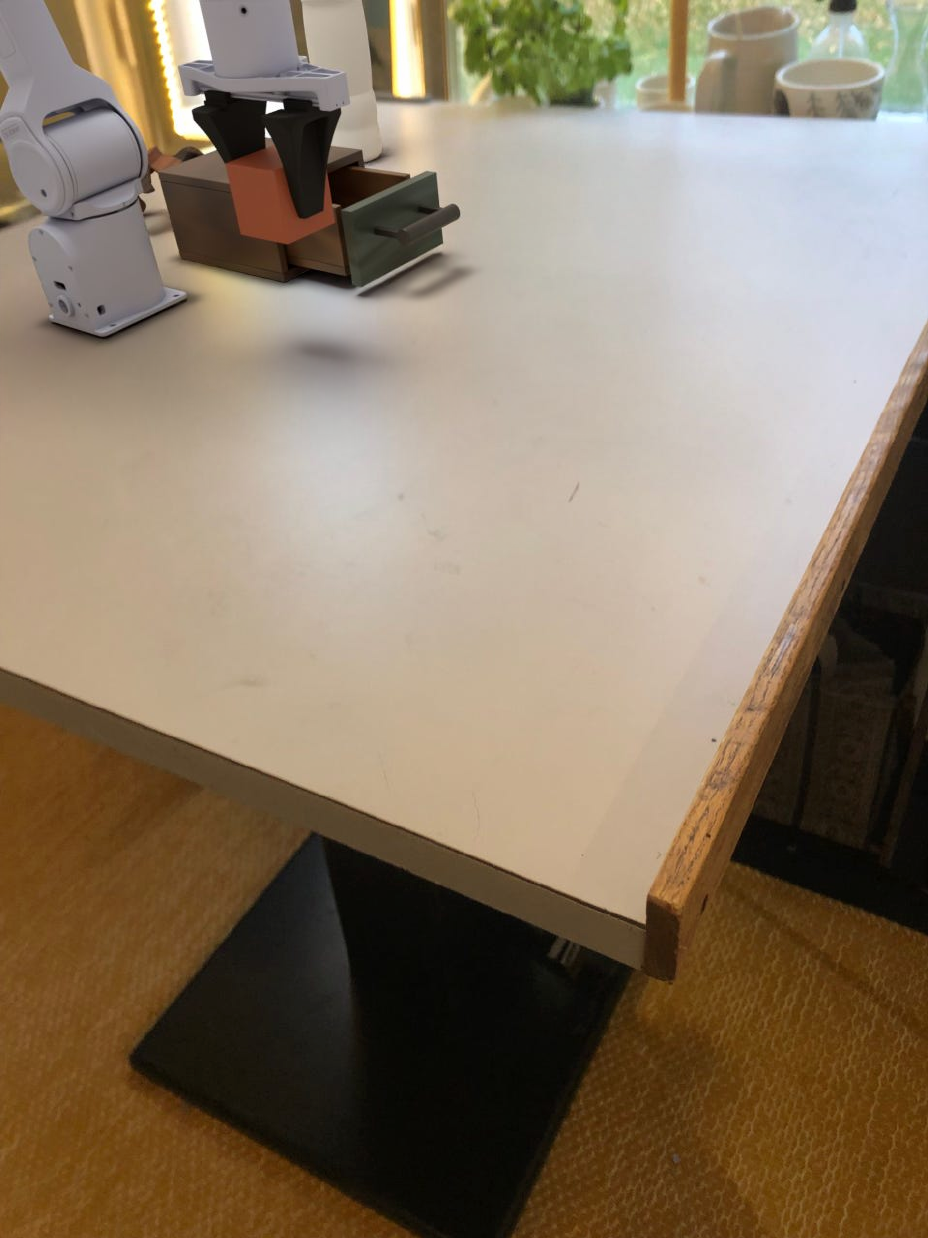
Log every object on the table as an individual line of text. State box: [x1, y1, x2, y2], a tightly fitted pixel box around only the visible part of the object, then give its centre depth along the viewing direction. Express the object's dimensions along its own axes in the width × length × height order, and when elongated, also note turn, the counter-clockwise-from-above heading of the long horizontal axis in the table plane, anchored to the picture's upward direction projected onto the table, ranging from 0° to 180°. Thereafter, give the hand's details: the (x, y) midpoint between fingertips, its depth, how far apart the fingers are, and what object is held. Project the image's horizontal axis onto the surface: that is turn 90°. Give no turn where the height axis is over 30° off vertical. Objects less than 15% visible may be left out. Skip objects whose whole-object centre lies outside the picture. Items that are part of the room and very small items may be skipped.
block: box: [225, 145, 335, 244], centre depth 71 cm, size 5×5×5 cm
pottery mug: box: [138, 145, 205, 214], centre depth 105 cm, size 12×10×8 cm
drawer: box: [283, 165, 461, 288], centre depth 88 cm, size 18×11×6 cm, turn 53°
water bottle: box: [300, 0, 383, 163], centre depth 111 cm, size 7×7×25 cm
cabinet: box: [157, 136, 366, 283], centre depth 94 cm, size 15×13×8 cm
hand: (284, 209), depth 72 cm, fingers closed on block, 5 cm apart
